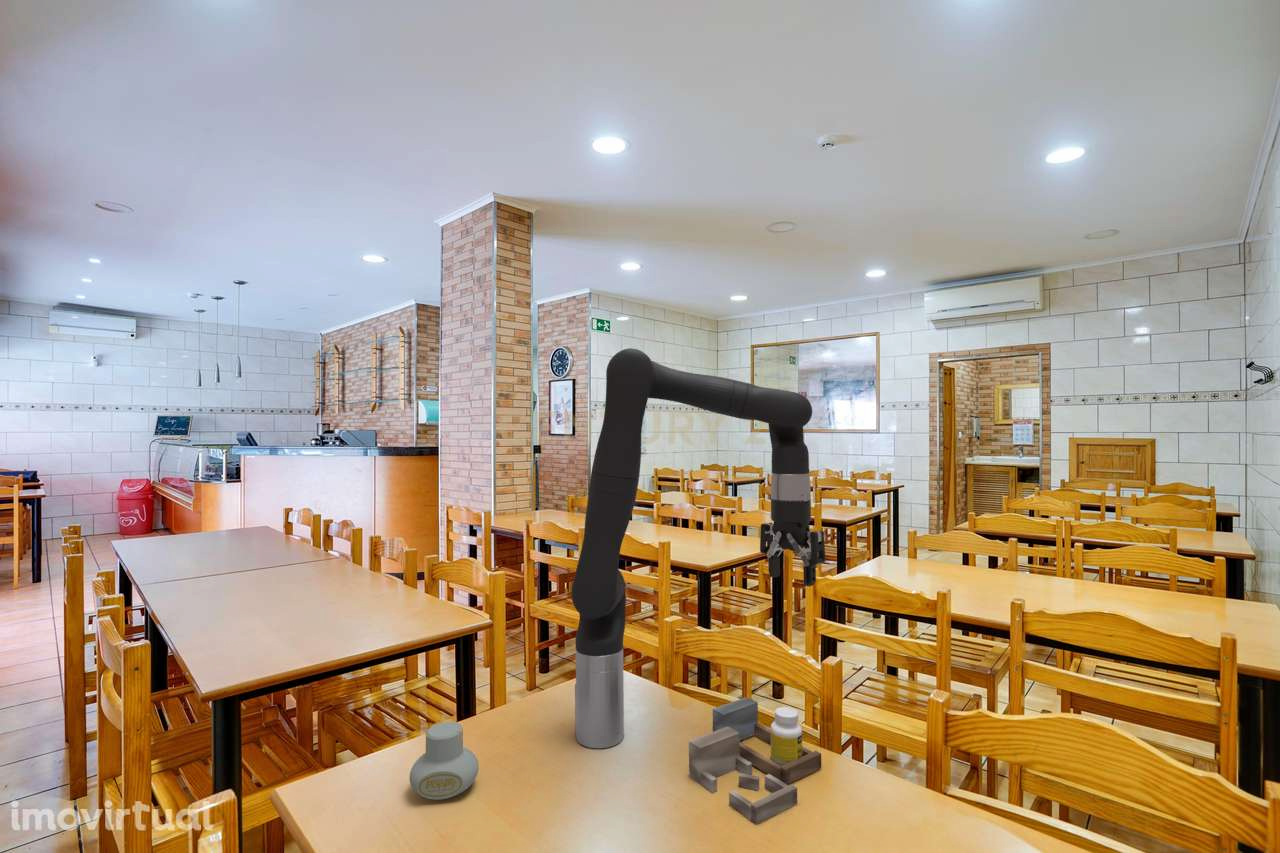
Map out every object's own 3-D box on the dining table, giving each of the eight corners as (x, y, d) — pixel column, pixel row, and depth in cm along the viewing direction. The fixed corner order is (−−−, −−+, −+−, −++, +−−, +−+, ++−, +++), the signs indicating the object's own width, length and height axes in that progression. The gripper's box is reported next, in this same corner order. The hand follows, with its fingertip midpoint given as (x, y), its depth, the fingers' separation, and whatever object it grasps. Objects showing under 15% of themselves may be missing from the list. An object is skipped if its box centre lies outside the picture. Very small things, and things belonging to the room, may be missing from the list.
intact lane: (712, 740, 117) (712, 708, 117) (747, 727, 122) (746, 696, 122) (785, 785, 102) (785, 748, 102) (821, 767, 107) (820, 733, 107)
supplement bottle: (803, 778, 104) (802, 720, 105) (770, 774, 106) (770, 717, 106) (801, 761, 110) (801, 706, 110) (770, 758, 111) (770, 703, 111)
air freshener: (404, 807, 97) (404, 744, 97) (415, 778, 105) (415, 720, 106) (475, 801, 99) (475, 738, 99) (481, 773, 107) (480, 715, 107)
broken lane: (689, 776, 105) (688, 740, 105) (728, 759, 110) (727, 726, 110) (756, 824, 92) (756, 784, 92) (797, 803, 97) (796, 765, 97)
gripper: (750, 495, 122) (751, 577, 122) (806, 501, 110) (807, 591, 110) (776, 492, 126) (777, 571, 126) (833, 498, 115) (834, 585, 115)
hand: (791, 581), depth 118 cm, fingers open, 8 cm apart
